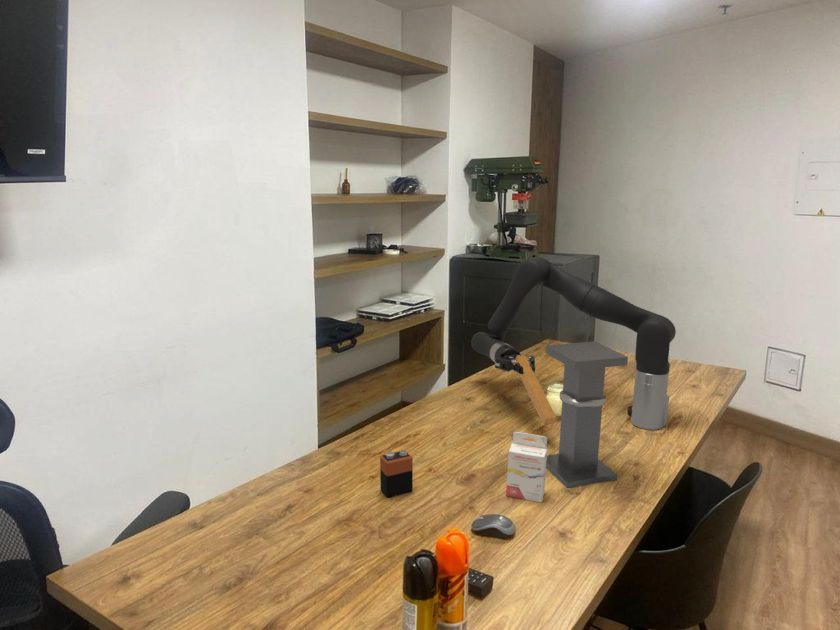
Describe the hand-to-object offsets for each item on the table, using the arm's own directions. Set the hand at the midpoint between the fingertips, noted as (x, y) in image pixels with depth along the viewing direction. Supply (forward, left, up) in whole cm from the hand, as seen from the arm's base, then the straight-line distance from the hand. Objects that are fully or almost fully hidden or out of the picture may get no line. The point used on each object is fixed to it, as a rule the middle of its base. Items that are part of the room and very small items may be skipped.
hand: (527, 370), depth 174 cm
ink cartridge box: (+18, +36, -18) cm, 44 cm away
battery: (+47, +26, -18) cm, 56 cm away
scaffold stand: (0, +29, -18) cm, 34 cm away
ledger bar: (0, +4, -5) cm, 7 cm away
